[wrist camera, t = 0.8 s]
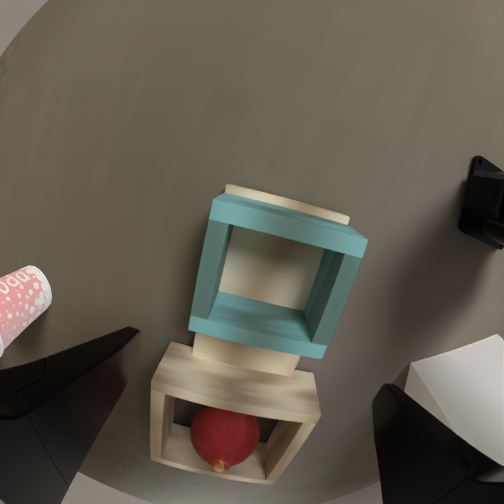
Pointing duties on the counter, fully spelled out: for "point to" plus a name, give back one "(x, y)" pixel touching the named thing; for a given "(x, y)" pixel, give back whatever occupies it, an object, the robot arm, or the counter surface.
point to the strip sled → (257, 326)
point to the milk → (465, 392)
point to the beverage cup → (21, 302)
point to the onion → (223, 436)
